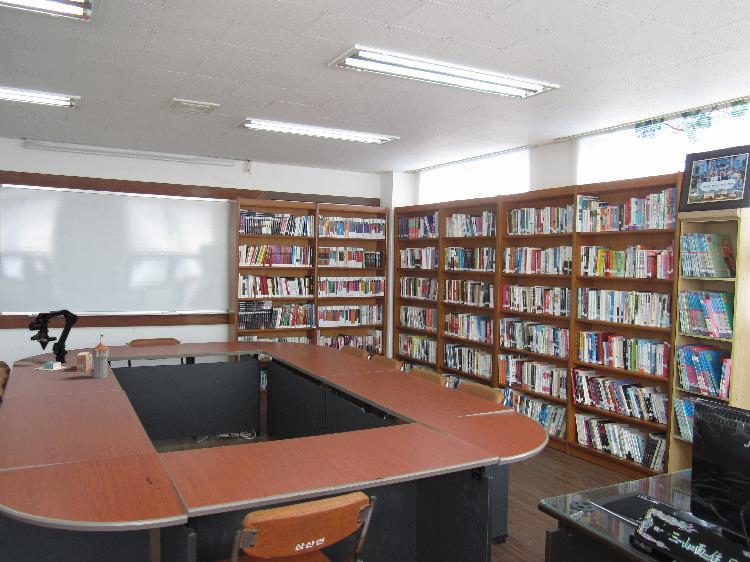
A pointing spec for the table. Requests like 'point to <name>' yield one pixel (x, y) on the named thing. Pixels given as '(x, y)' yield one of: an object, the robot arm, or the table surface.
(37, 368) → the mat
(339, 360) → the table surface
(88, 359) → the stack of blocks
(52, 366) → the turquoise box
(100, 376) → the model building
